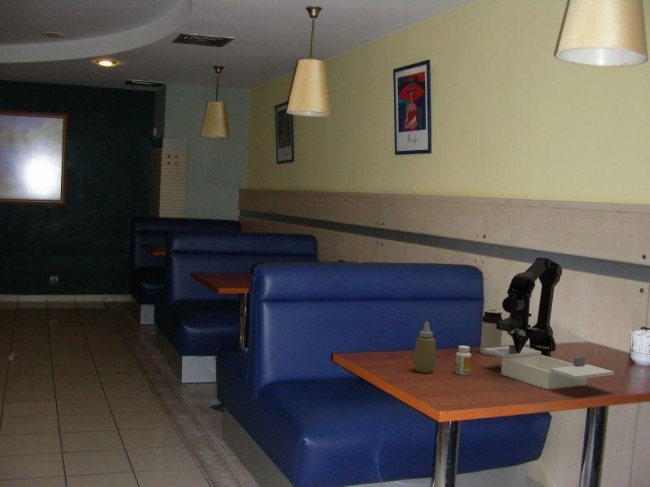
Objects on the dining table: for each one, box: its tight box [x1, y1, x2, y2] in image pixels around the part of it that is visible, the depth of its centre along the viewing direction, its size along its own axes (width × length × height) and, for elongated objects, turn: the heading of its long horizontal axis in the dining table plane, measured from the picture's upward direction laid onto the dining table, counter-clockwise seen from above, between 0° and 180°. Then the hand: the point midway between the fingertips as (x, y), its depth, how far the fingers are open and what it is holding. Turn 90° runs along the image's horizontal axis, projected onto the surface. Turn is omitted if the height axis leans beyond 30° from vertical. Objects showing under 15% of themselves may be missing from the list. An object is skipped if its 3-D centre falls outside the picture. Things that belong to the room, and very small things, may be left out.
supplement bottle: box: [454, 345, 472, 376], centre depth 265 cm, size 5×5×10 cm
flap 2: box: [550, 356, 615, 379], centre depth 247 cm, size 18×11×4 cm, turn 120°
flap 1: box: [484, 344, 541, 358], centre depth 275 cm, size 18×11×4 cm, turn 120°
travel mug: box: [479, 308, 504, 357], centre depth 301 cm, size 8×8×18 cm
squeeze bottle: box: [413, 321, 437, 374], centre depth 265 cm, size 8×8×18 cm
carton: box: [500, 354, 587, 390], centre depth 262 cm, size 19×22×6 cm
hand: (518, 352), depth 267 cm, fingers closed
